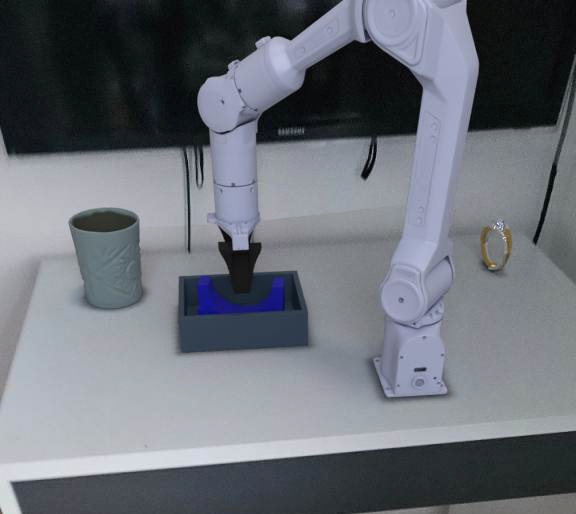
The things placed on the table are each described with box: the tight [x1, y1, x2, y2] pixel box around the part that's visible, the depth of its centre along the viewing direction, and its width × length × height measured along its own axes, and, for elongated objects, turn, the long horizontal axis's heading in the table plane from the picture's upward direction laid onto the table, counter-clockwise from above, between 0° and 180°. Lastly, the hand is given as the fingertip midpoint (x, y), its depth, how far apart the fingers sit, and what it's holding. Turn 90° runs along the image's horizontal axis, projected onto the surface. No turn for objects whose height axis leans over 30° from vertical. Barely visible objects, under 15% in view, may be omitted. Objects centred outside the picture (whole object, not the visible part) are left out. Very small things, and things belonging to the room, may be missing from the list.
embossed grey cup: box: [68, 207, 143, 310], centre depth 115 cm, size 10×10×12 cm
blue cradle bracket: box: [197, 276, 285, 315], centre depth 109 cm, size 12×4×6 cm, turn 86°
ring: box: [480, 218, 513, 271], centre depth 123 cm, size 7×3×8 cm, turn 16°
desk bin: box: [177, 270, 309, 353], centre depth 110 cm, size 14×18×5 cm
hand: (240, 280), depth 107 cm, fingers open, 7 cm apart
